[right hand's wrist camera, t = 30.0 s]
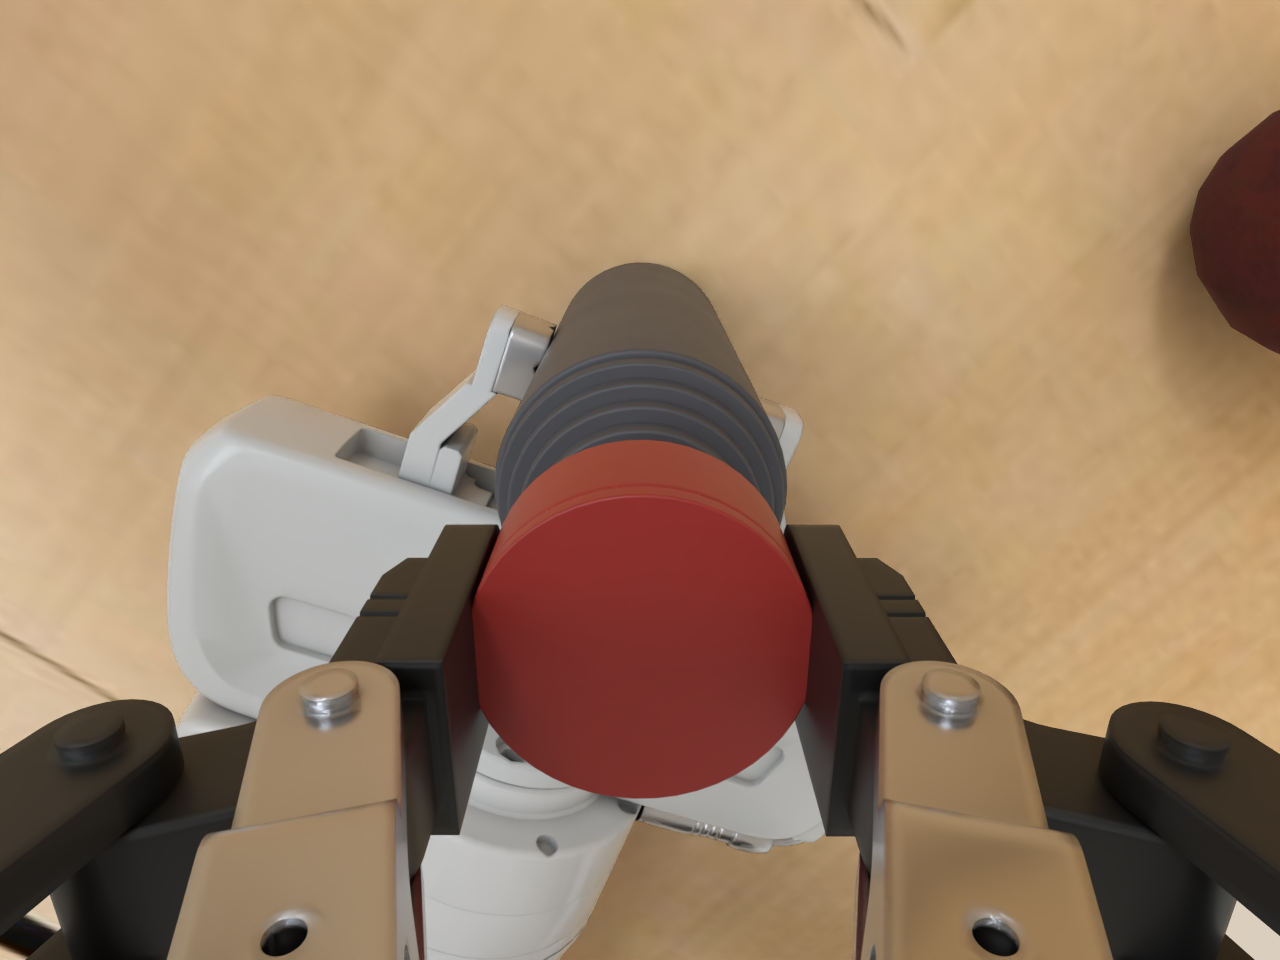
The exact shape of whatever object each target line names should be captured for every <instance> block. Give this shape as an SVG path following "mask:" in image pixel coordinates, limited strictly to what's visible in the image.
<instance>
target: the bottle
mask: <svg viewBox="0 0 1280 960" xmlns="http://www.w3.org/2000/svg"><path fill="white" fill-rule="evenodd" d="M625 440H655V441H664V442H671V443H675V444H679V445H684V446H688V447H691V448H694V449H696V450H699V451H702V452H704V453H707V454H709V455H711V456H713V457H715V458H717V459H719V460H720V461H722V462H724V463H726V464H727V465H729V466H730V467H731V468H733V469H734V470H736V471H737V472H739V473H740V474H741V475H742V476H743V477H745V478H746V479H747V480H748V481H749V482H750V483H751V484H752V485H753V486H754V487H755V488H756V489H757V490H758V492H759V493H760V494H761V495H762V496H763V498H764V499H765V500H766V501H767V503H768V505H769V506H770V508H771V510H772V511H773V513H774V515H775V516H776V518H777V520H778V523H779V525H781V522H782V517H783V513H784V509H785V504H786V493H787V476H786V466H785V461H784V456H783V451H782V448H781V445H780V442H779V439H778V437H777V434H776V432H775V430H774V428H773V426H772V424H771V422H770V420H769V418H768V416H767V414H766V412H765V410H764V408H763V406H762V404H761V402H760V400H759V398H758V396H757V394H756V392H755V390H754V388H753V386H752V384H751V382H750V380H749V378H748V376H747V374H746V372H745V370H744V368H743V366H742V364H741V362H740V360H739V358H738V356H737V354H736V352H735V350H734V348H733V346H732V344H731V342H730V340H729V338H728V336H727V334H726V332H725V330H724V328H723V326H722V324H721V322H720V320H719V318H718V316H717V314H716V312H715V310H714V308H713V306H712V304H711V302H710V301H709V299H708V298H707V297H706V295H705V294H704V292H703V291H702V290H701V289H700V288H699V287H698V286H697V285H696V284H695V283H694V282H692V281H691V280H690V279H689V278H687V277H686V276H684V275H683V274H681V273H679V272H677V271H675V270H673V269H671V268H668V267H665V266H661V265H657V264H651V263H631V264H624V265H620V266H616V267H613V268H611V269H609V270H606V271H604V272H602V273H600V274H599V275H597V276H595V277H594V278H593V279H591V280H590V281H589V282H587V283H586V284H585V285H584V286H583V287H582V288H581V289H580V290H579V292H578V293H577V294H576V296H575V297H574V298H573V300H572V301H571V303H570V305H569V307H568V308H567V310H566V312H565V314H564V316H563V318H562V320H561V322H560V324H559V326H558V328H557V330H556V332H555V335H554V337H553V339H552V341H551V343H550V345H549V347H548V349H547V351H546V353H545V355H544V357H543V359H542V361H541V363H540V365H539V367H538V369H537V371H536V373H535V375H534V377H533V379H532V381H531V383H530V385H529V387H528V389H527V391H526V393H525V395H524V397H523V399H522V401H521V403H520V405H519V407H518V409H517V411H516V413H515V415H514V417H513V419H512V421H511V423H510V425H509V427H508V429H507V431H506V434H505V436H504V439H503V441H502V444H501V446H500V450H499V455H498V459H497V463H496V472H495V499H496V505H497V510H498V515H499V519H500V523H501V527H502V525H503V522H504V521H505V519H506V517H507V515H508V513H509V511H510V509H511V507H512V506H513V505H514V503H515V502H516V501H517V499H518V498H519V497H520V495H521V494H522V492H523V491H524V490H525V489H526V488H527V487H528V486H529V485H530V484H531V483H532V482H533V481H534V480H535V479H536V478H537V477H539V476H540V475H541V474H543V473H544V472H545V471H546V470H548V469H549V468H550V467H552V466H553V465H555V464H557V463H558V462H560V461H562V460H564V459H565V458H567V457H569V456H571V455H573V454H576V453H578V452H581V451H583V450H585V449H588V448H592V447H595V446H599V445H602V444H606V443H612V442H619V441H625Z"/></svg>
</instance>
